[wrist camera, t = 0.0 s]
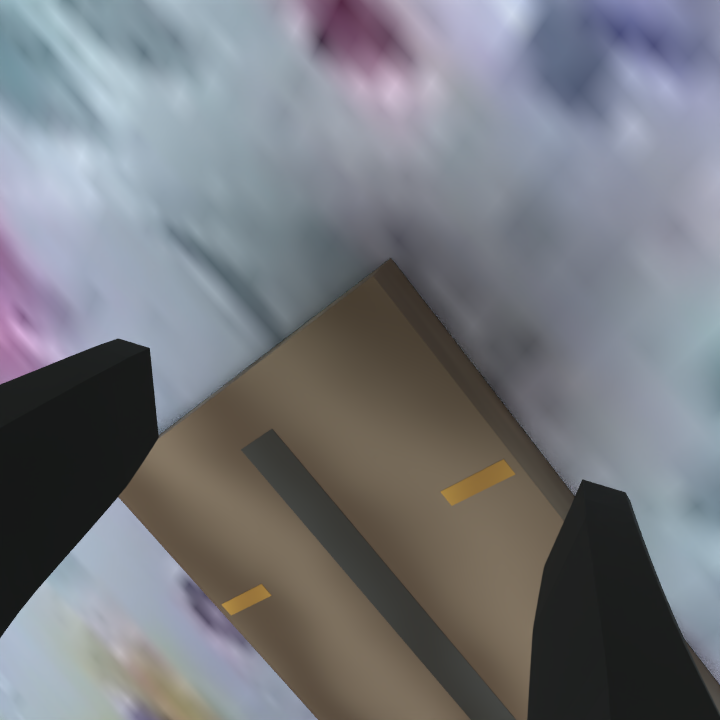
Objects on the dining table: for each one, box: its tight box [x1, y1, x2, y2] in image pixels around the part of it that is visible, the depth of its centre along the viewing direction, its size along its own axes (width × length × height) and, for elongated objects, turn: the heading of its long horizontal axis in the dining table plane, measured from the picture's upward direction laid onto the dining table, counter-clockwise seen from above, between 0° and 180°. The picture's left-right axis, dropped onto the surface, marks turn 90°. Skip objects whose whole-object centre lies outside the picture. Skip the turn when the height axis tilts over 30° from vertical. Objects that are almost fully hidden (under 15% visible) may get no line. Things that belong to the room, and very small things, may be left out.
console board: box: [118, 258, 720, 720], centre depth 24 cm, size 14×22×2 cm, turn 40°
